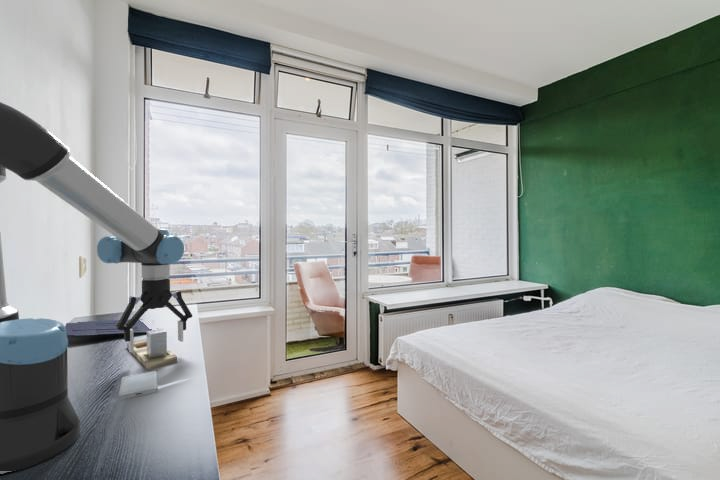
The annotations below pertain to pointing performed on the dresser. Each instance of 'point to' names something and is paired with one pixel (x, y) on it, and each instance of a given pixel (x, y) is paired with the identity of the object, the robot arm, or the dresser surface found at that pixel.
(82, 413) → the dresser surface
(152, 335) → the post
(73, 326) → the dark grey flat slab
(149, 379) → the hard drive
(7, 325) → the robot arm
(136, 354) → the rail
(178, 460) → the dresser surface
